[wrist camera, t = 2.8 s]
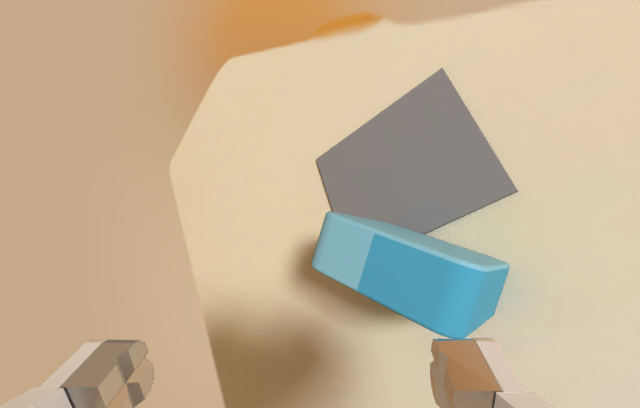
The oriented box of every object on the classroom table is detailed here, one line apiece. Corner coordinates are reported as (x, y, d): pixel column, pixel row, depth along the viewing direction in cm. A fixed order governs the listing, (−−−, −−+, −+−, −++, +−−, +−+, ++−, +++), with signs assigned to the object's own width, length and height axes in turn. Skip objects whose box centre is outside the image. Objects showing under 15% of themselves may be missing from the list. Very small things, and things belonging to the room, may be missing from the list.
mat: (518, 191, 27) (517, 190, 27) (352, 267, 36) (350, 267, 36) (443, 69, 33) (442, 67, 33) (318, 160, 42) (316, 159, 42)
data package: (374, 262, 34) (302, 263, 25) (387, 222, 34) (318, 208, 24) (496, 315, 27) (457, 346, 17) (513, 264, 26) (483, 267, 17)
